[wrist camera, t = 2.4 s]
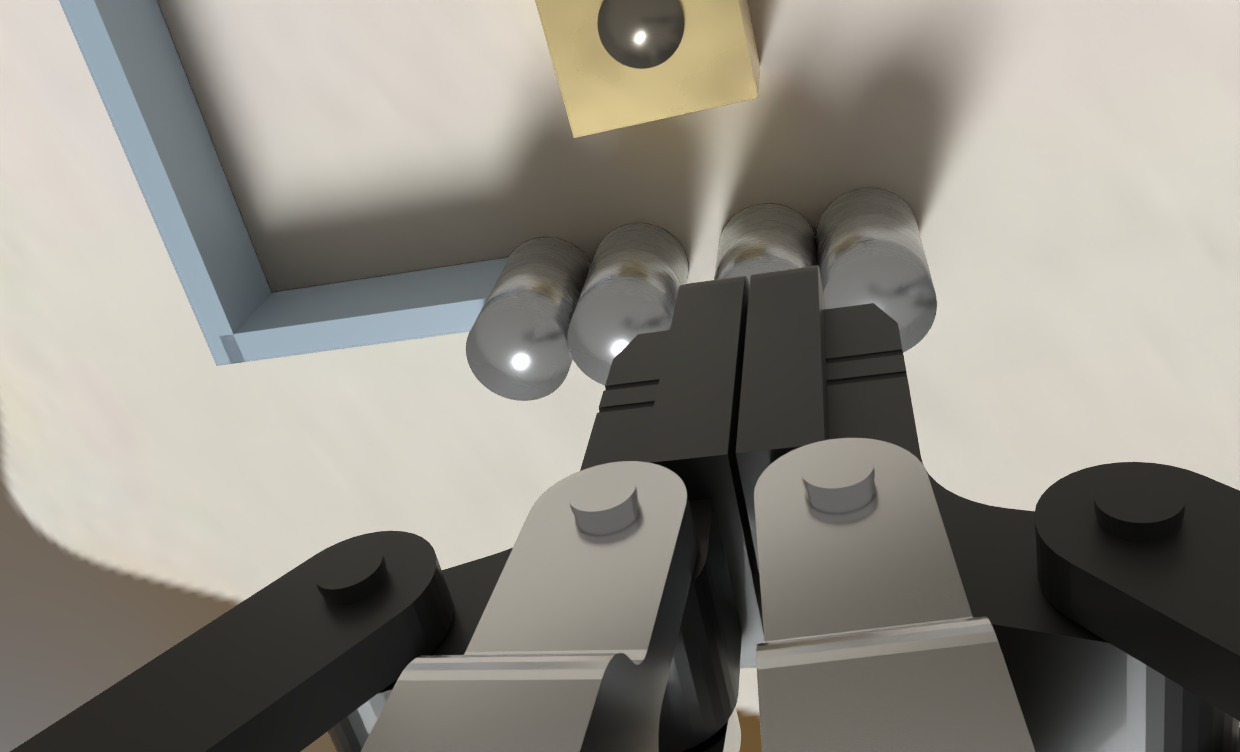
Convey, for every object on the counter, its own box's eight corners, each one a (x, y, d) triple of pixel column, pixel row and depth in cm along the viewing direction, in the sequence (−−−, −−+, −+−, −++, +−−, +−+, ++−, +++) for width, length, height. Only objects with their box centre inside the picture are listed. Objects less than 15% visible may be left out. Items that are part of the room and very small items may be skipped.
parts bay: (365, -275, 29) (324, -276, 26) (520, 284, 36) (499, 327, 34) (46, -192, 31) (-21, -185, 28) (254, 322, 38) (216, 365, 36)
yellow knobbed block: (723, -122, 30) (716, -105, 27) (760, 63, 32) (757, 99, 29) (545, -75, 31) (518, -53, 28) (592, 101, 33) (572, 140, 30)
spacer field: (874, -489, 25) (892, -534, 21) (938, 270, 34) (960, 348, 30) (292, -328, 29) (204, -338, 24) (488, 331, 37) (449, 410, 33)
